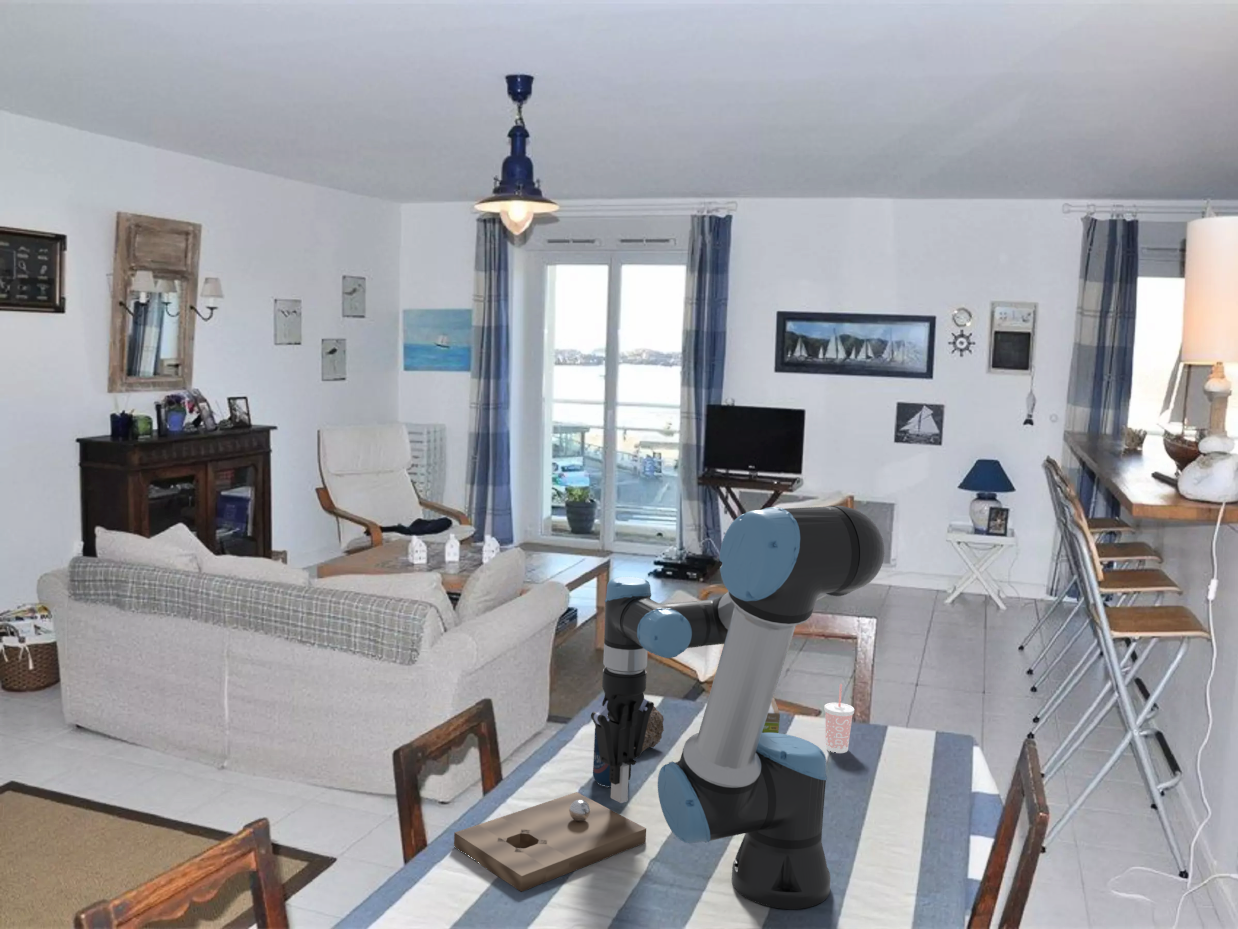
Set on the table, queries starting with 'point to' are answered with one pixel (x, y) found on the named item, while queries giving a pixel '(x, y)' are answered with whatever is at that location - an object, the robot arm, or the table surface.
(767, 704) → the robot arm
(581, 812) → the steel ball
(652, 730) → the brown rock
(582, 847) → the walnut board
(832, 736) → the beverage cup
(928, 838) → the table surface
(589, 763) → the table surface
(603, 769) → the soda can
